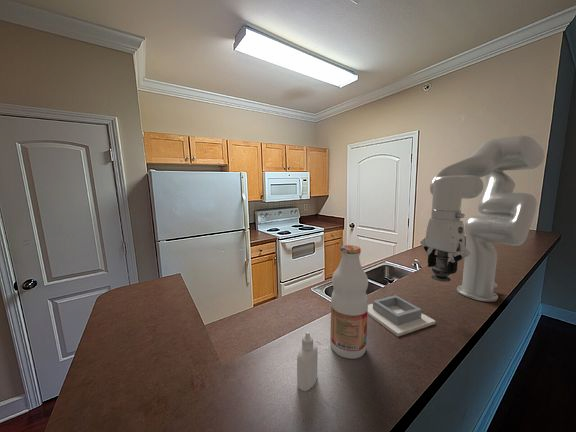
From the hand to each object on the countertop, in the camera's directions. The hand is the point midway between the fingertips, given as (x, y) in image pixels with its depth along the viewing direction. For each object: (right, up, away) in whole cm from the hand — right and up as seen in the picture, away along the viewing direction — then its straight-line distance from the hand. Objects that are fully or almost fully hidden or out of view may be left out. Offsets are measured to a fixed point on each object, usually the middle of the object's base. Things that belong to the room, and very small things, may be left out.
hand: (441, 269), depth 75 cm
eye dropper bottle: (-46, -20, -24) cm, 55 cm away
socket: (-14, -16, +2) cm, 22 cm away
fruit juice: (-34, -18, -13) cm, 41 cm away
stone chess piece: (0, -3, 0) cm, 3 cm away
